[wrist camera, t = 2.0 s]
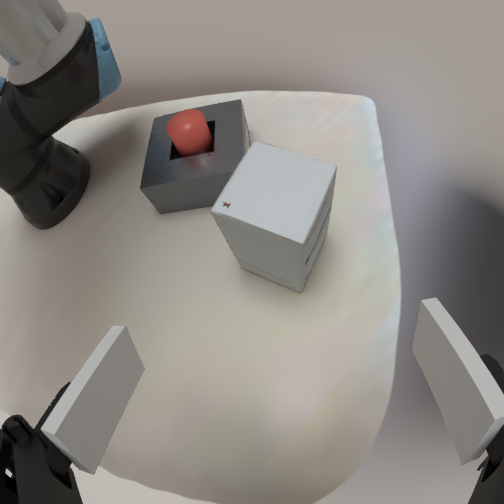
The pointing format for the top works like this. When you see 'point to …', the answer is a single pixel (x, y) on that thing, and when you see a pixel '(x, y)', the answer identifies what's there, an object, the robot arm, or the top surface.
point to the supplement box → (276, 212)
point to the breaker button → (190, 133)
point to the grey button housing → (194, 160)
